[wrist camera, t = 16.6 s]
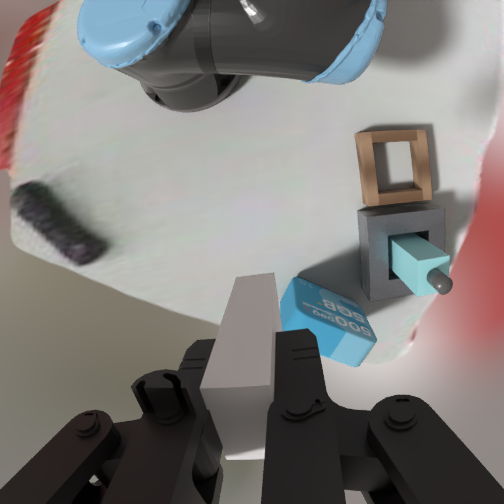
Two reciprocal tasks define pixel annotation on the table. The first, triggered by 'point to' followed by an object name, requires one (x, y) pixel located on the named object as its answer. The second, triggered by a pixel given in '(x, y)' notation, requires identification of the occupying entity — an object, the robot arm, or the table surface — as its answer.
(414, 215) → the port block
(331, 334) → the data package
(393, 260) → the plug
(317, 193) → the table surface
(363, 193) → the square wooden frame
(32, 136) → the table surface
